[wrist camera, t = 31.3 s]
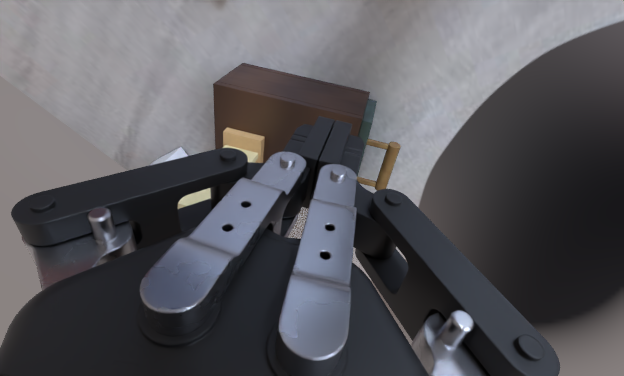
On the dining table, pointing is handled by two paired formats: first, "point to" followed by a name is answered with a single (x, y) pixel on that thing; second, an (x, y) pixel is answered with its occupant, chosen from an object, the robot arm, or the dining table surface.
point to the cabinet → (280, 105)
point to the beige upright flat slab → (237, 140)
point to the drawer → (391, 148)
